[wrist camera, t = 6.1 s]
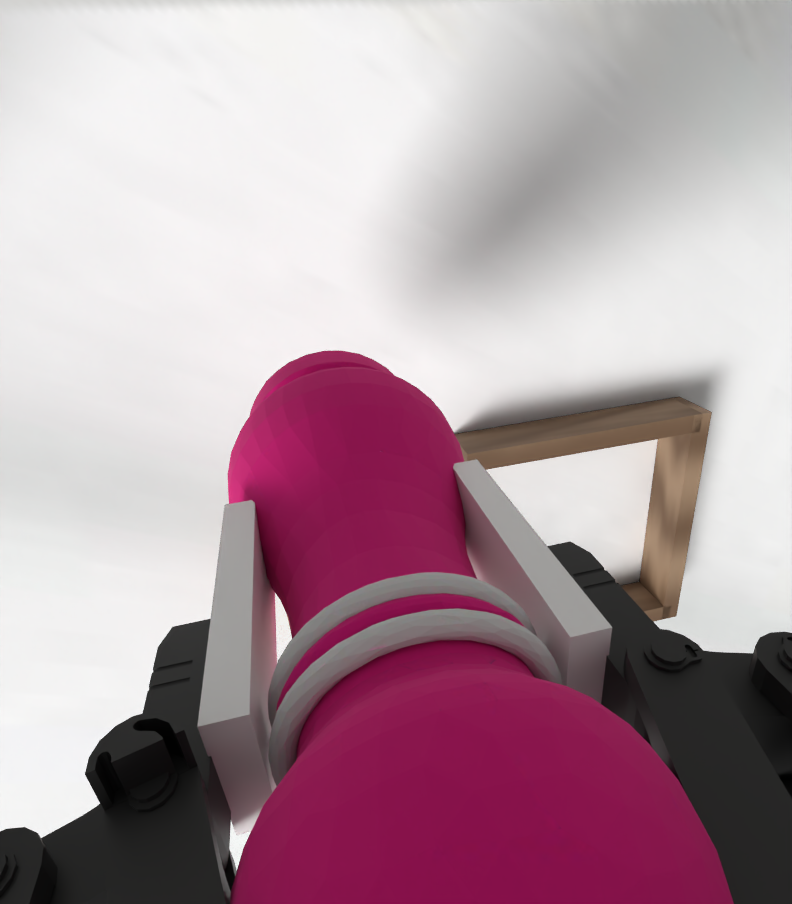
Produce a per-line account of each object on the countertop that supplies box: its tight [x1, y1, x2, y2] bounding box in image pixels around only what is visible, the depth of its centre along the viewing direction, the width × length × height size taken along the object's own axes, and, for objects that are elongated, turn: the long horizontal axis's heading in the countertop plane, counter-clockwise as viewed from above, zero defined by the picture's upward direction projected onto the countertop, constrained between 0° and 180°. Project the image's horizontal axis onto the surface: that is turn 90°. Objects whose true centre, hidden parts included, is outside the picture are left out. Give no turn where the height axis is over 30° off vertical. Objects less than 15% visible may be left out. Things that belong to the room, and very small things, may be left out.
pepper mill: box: [228, 351, 734, 904], centre depth 12 cm, size 7×7×20 cm
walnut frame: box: [455, 397, 712, 621], centre depth 38 cm, size 16×16×3 cm
